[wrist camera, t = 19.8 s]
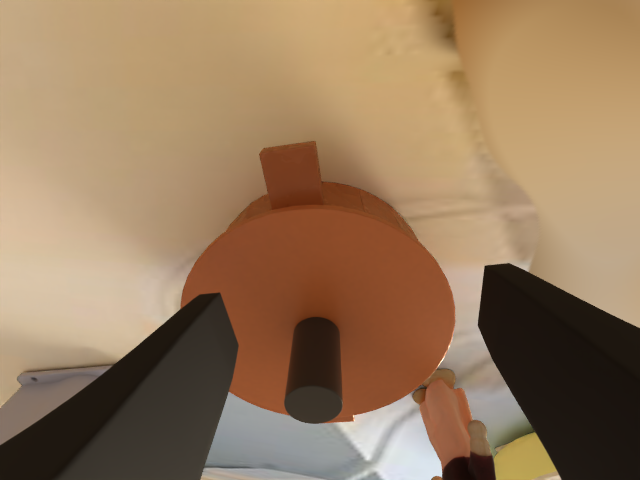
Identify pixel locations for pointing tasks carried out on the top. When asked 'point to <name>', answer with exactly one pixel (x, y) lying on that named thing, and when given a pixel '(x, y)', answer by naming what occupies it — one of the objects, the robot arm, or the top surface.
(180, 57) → the top surface
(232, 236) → the pot lid
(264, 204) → the pot
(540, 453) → the emoji
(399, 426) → the top surface
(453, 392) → the grandmother figurine
